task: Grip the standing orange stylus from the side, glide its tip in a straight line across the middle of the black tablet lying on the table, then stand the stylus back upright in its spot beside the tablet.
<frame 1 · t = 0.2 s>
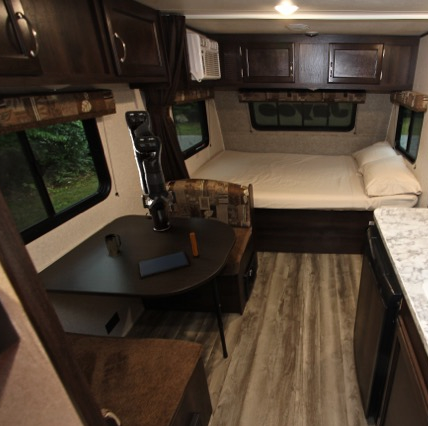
hand: (162, 213, 139), 29 cm above the table, tool pointing down, fingers open, 8 cm apart
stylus: (196, 256, 158), on the table
mug: (117, 254, 159), on the table
tablet: (164, 264, 151), on the table
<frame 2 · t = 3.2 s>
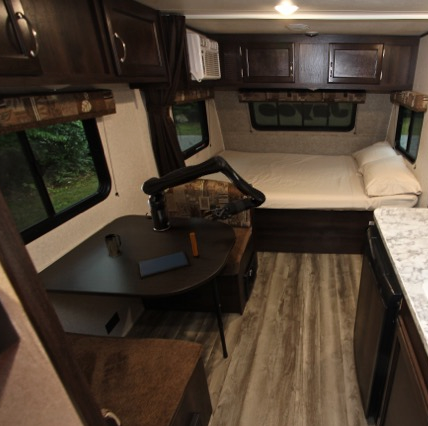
hand: (208, 217, 156), 20 cm above the table, tool horizontal, fingers open, 8 cm apart
nothing on the table moved.
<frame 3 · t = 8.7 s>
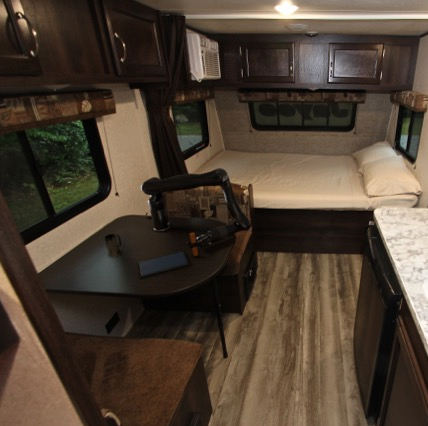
hand: (188, 245, 153), 8 cm above the table, tool horizontal, fingers closed on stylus, 2 cm apart
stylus: (196, 256, 158), on the table, touching gripper
everything else where it was.
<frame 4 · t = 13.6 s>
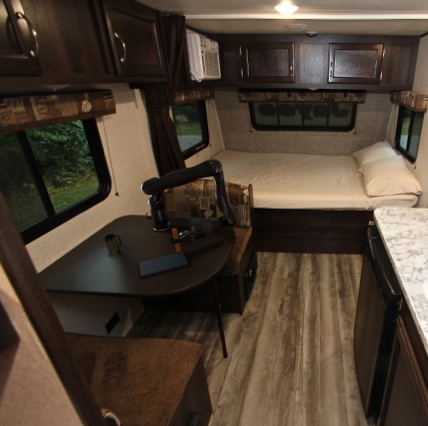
hand: (170, 241, 147), 13 cm above the table, tool horizontal, fingers closed on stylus, 2 cm apart
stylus: (179, 252, 152), point 5 cm above the table, touching gripper
everything else where it was.
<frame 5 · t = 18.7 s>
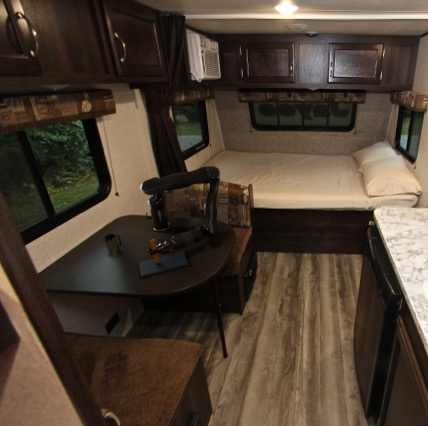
hand: (149, 252, 144), 9 cm above the table, tool horizontal, fingers closed on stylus, 2 cm apart
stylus: (158, 263, 149), point 1 cm above the table, touching gripper
everything else where it was.
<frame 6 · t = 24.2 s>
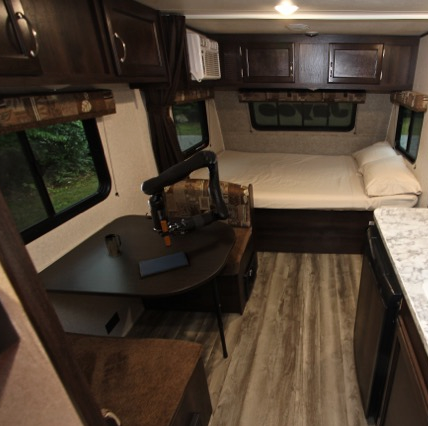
hand: (159, 234, 143), 18 cm above the table, tool horizontal, fingers closed on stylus, 2 cm apart
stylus: (168, 246, 148), point 10 cm above the table, touching gripper
everything else where it was.
when the fingers open (8 cm above the table, at t = 28.7 s): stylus stays where it is, on the table.
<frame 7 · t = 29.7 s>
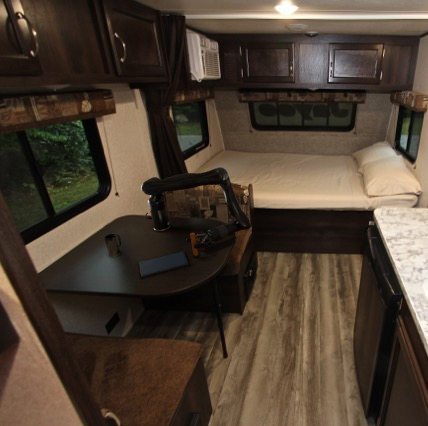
hand: (190, 243, 153), 9 cm above the table, tool horizontal, fingers open, 8 cm apart
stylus: (196, 256, 158), on the table
everything else where it was.
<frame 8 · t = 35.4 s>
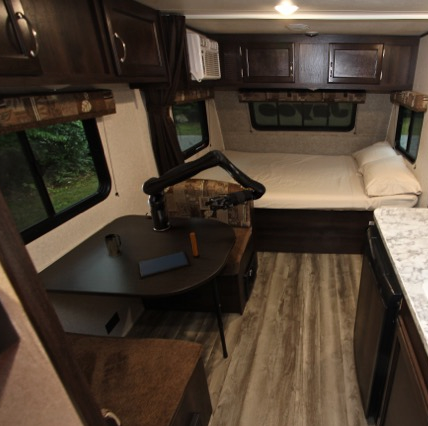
hand: (208, 206, 154), 26 cm above the table, tool horizontal, fingers open, 8 cm apart
nothing on the table moved.
at the end: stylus 0.1 cm from the target spot, on the table; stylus tilted 0°; the gripper is holding nothing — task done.
